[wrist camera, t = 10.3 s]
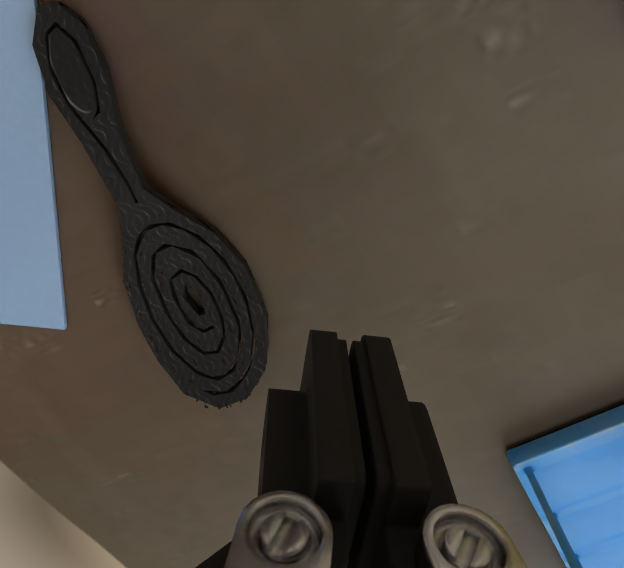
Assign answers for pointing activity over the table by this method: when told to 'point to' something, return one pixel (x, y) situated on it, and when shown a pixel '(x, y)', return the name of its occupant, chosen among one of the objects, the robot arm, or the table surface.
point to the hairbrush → (157, 233)
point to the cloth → (26, 181)
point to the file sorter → (579, 488)
